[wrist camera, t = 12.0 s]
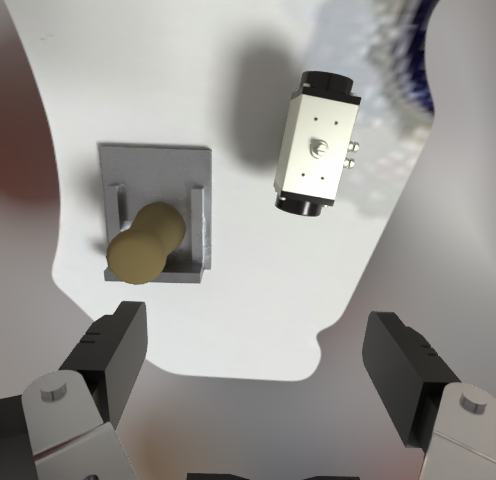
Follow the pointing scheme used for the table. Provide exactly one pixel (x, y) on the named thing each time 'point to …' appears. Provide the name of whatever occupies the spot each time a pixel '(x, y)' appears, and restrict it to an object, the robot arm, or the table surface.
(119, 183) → the bracket
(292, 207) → the pneumatic valve
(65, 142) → the table surface
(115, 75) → the table surface
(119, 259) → the cork
